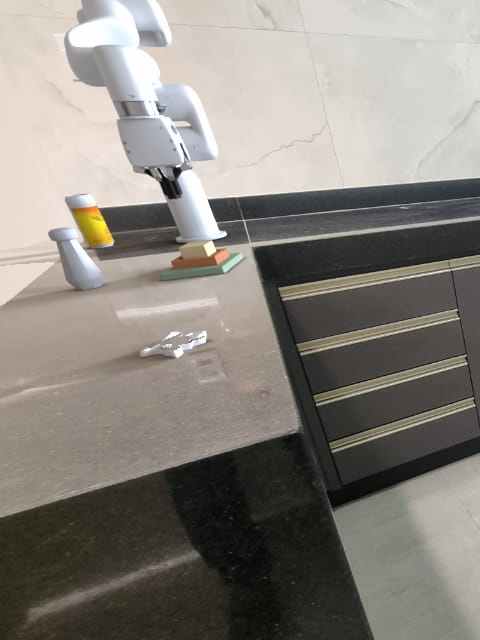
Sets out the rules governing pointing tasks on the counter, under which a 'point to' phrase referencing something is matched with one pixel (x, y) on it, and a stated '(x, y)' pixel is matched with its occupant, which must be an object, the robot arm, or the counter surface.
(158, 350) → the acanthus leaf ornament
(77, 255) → the salt shaker
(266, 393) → the counter surface
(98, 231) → the beer can
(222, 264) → the base pad
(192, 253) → the tan block
